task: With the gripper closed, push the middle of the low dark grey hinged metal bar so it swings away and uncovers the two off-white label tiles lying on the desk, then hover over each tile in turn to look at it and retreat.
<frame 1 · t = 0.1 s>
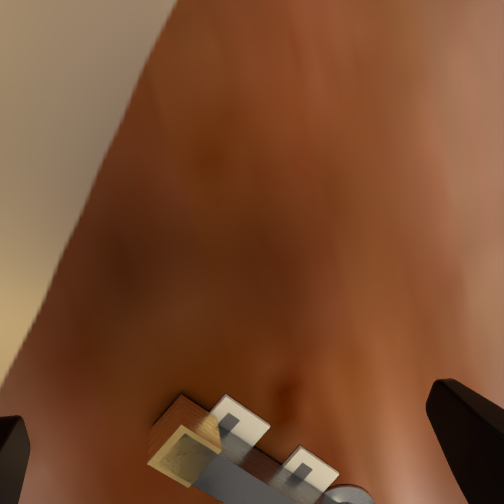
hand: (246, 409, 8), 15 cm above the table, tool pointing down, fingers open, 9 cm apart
swing arm: (275, 498, 25), point 2 cm above the table, hinge at 0.0°
label tile b: (218, 441, 26), on the table
label tile a: (291, 488, 28), on the table
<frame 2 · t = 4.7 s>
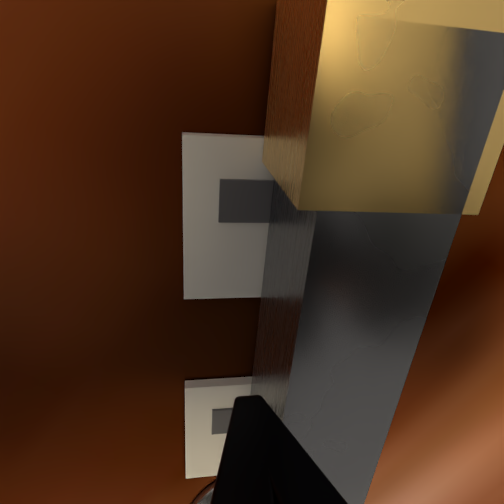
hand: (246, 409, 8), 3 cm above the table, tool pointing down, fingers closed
swing arm: (309, 425, 10), point 2 cm above the table, hinge at 0.8°, touching gripper
label tile b: (306, 221, 10), on the table
label tile a: (278, 420, 13), on the table
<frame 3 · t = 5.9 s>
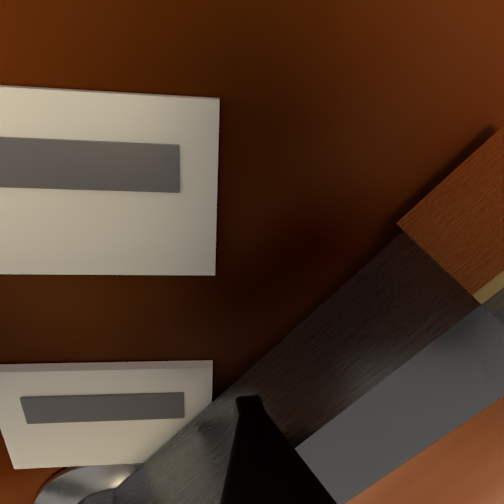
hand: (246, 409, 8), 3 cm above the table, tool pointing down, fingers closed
swing arm: (273, 455, 10), point 2 cm above the table, hinge at 38.4°, touching gripper
label tile b: (77, 188, 8), on the table
label tile a: (110, 412, 12), on the table
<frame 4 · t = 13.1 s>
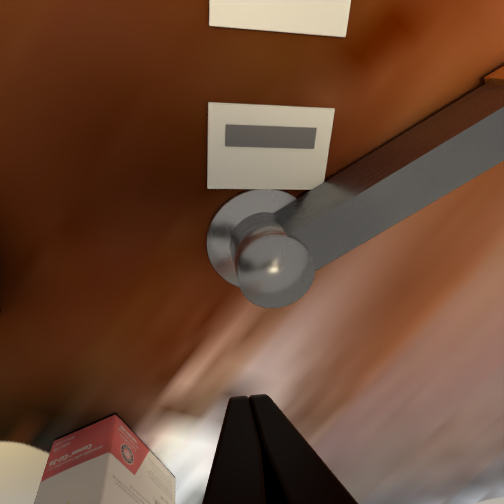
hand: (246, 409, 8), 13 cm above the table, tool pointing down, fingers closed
ink cartridge box: (118, 458, 27), on the table
pivot base: (261, 240, 21), on the table
swing arm: (399, 180, 19), point 2 cm above the table, hinge at 56.1°
label tile a: (268, 148, 19), on the table
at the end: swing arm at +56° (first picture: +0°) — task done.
